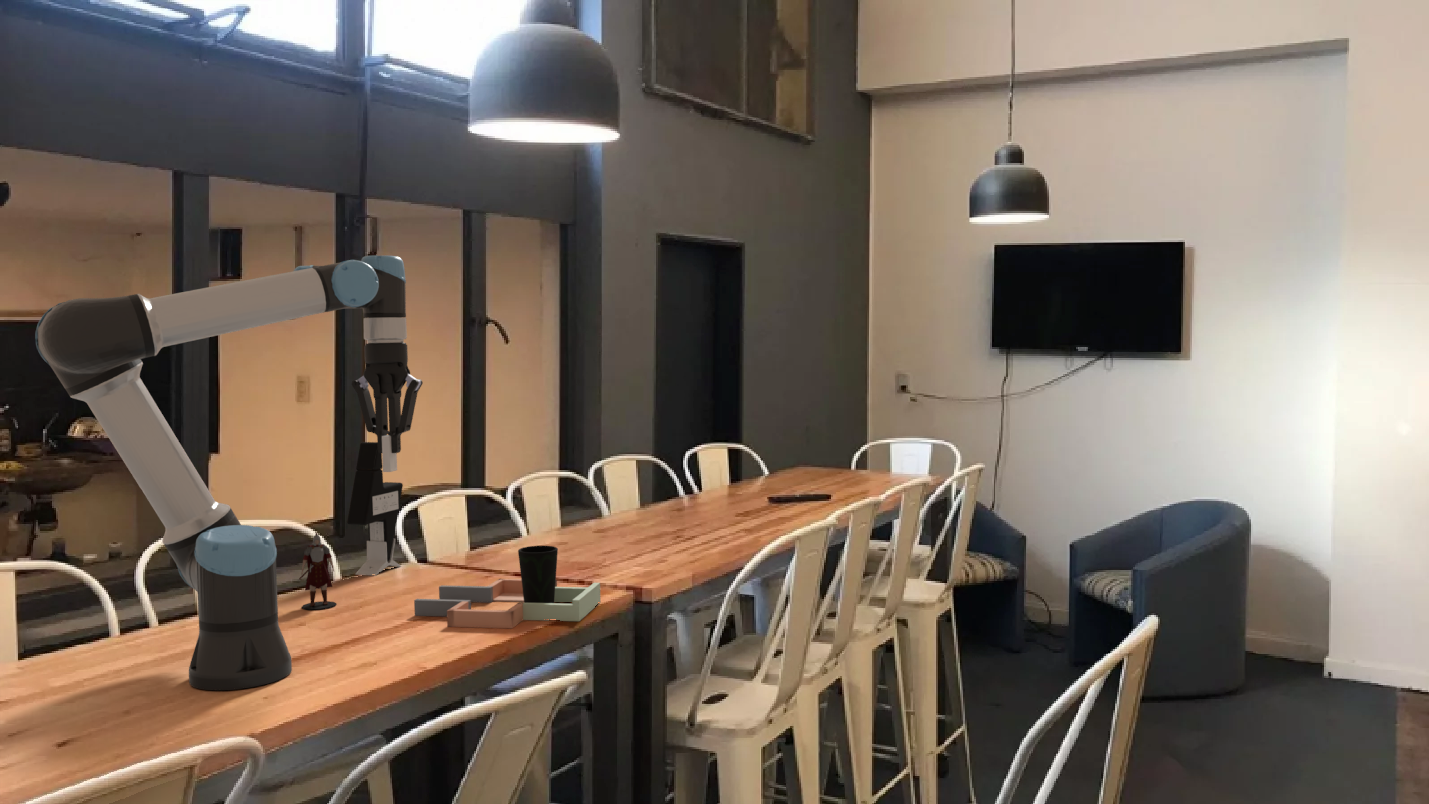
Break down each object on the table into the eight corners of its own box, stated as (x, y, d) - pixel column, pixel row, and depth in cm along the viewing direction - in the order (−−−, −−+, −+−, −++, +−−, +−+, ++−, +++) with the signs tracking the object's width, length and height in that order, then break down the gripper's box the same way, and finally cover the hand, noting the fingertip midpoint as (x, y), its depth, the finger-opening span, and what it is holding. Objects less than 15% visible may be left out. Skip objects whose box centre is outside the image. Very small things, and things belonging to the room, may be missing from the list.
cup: (567, 607, 222) (565, 547, 221) (542, 616, 216) (540, 554, 215) (537, 603, 226) (535, 544, 225) (511, 611, 220) (509, 550, 219)
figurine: (302, 611, 222) (299, 536, 222) (299, 604, 229) (297, 531, 228) (338, 608, 225) (335, 533, 224) (334, 600, 232) (331, 528, 231)
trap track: (398, 625, 211) (397, 604, 210) (455, 591, 238) (455, 573, 238) (569, 629, 205) (569, 608, 205) (608, 595, 232) (608, 576, 232)
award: (367, 578, 253) (362, 445, 251) (347, 576, 255) (343, 444, 253) (406, 564, 268) (402, 438, 266) (387, 563, 269) (383, 438, 267)
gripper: (428, 340, 207) (432, 468, 208) (361, 342, 209) (366, 468, 210) (410, 341, 199) (414, 473, 201) (342, 342, 202) (346, 473, 203)
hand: (390, 470), depth 206 cm, fingers closed
